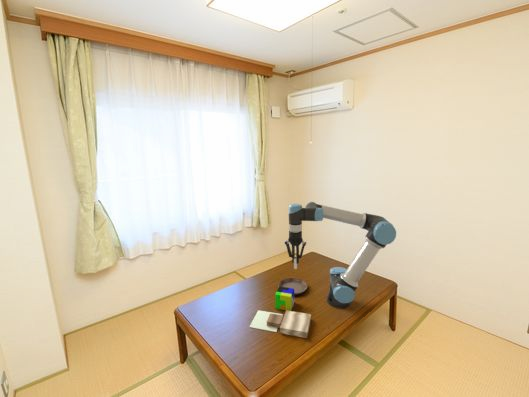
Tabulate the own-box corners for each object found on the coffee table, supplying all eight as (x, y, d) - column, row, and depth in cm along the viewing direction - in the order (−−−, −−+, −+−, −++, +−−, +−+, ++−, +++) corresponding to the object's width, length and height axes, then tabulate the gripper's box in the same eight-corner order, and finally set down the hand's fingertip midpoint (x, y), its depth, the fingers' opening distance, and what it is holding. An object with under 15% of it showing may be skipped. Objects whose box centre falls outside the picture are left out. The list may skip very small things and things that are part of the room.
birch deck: (310, 319, 158) (310, 314, 157) (307, 338, 143) (307, 332, 142) (286, 315, 162) (286, 310, 161) (279, 333, 147) (279, 327, 146)
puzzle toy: (294, 302, 175) (294, 288, 173) (290, 311, 166) (290, 296, 164) (279, 299, 179) (279, 286, 177) (275, 308, 169) (275, 294, 167)
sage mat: (283, 314, 163) (282, 314, 163) (276, 332, 148) (276, 331, 148) (258, 310, 167) (258, 310, 167) (249, 327, 152) (249, 326, 152)
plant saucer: (303, 299, 178) (303, 295, 178) (274, 294, 186) (274, 289, 185) (310, 284, 197) (310, 280, 197) (283, 280, 205) (283, 276, 204)
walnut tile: (283, 319, 158) (283, 315, 158) (280, 327, 151) (280, 324, 150) (270, 317, 160) (270, 313, 160) (266, 325, 153) (266, 321, 152)
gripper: (307, 229, 156) (307, 266, 161) (285, 227, 160) (286, 264, 165) (305, 233, 149) (305, 272, 154) (282, 231, 153) (283, 269, 158)
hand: (295, 268), depth 159 cm, fingers closed
